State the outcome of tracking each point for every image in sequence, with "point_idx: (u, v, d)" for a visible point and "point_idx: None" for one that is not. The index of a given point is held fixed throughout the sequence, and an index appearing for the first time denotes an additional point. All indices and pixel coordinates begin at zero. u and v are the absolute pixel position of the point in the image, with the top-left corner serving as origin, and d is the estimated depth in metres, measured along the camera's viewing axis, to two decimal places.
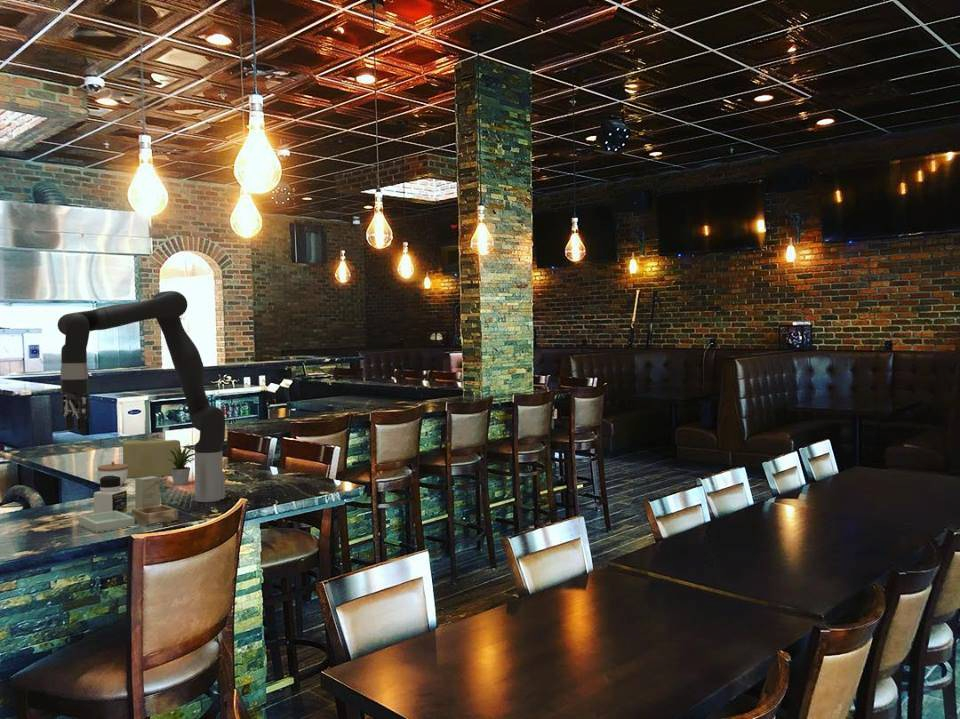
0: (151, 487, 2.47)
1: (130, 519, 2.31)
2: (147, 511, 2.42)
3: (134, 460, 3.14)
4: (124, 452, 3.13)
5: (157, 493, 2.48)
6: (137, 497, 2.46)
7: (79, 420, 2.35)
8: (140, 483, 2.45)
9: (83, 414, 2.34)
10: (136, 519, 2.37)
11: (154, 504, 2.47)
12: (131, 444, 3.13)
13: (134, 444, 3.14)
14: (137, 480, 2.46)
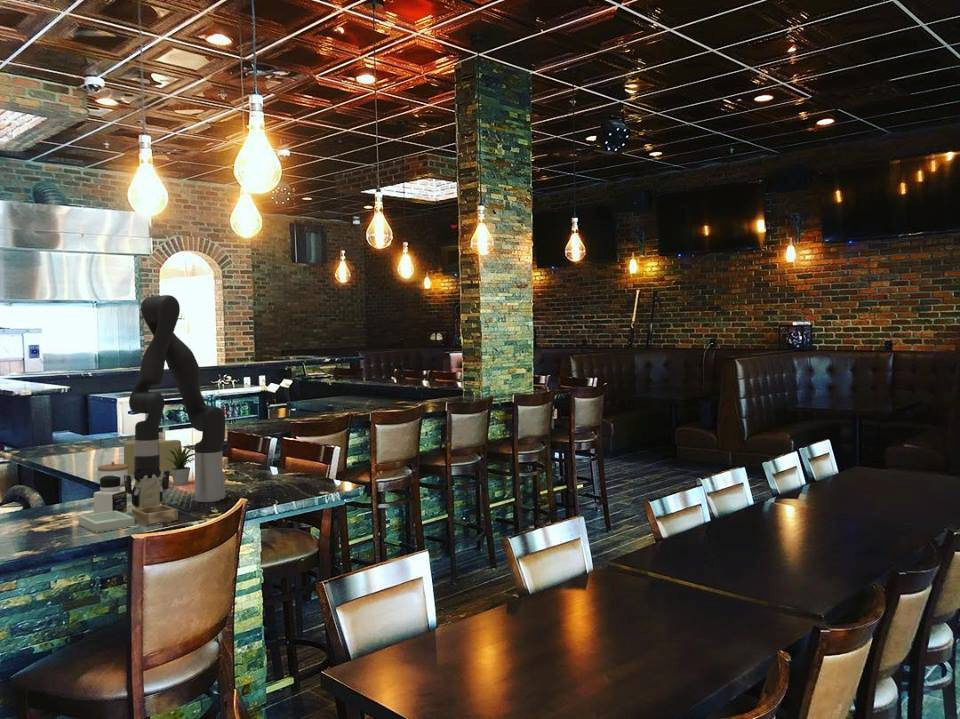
0: (151, 487, 2.47)
1: (130, 519, 2.31)
2: (147, 511, 2.42)
3: None
4: (125, 452, 3.13)
5: (157, 493, 2.48)
6: None
7: (161, 493, 2.50)
8: None
9: None
10: (136, 519, 2.37)
11: (154, 504, 2.47)
12: (132, 444, 3.13)
13: None
14: None
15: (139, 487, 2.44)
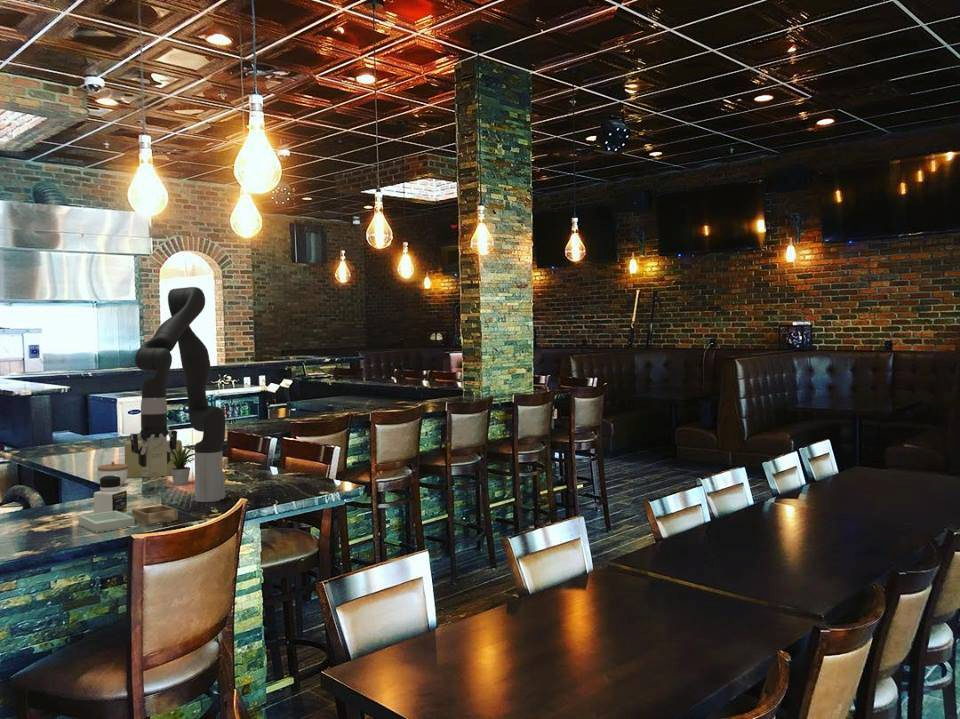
0: (158, 447, 2.38)
1: (130, 519, 2.31)
2: (147, 511, 2.42)
3: (136, 460, 3.14)
4: (126, 452, 3.13)
5: (164, 453, 2.40)
6: None
7: (169, 453, 2.42)
8: None
9: None
10: (136, 519, 2.37)
11: (161, 464, 2.39)
12: None
13: None
14: None
15: (146, 446, 2.36)
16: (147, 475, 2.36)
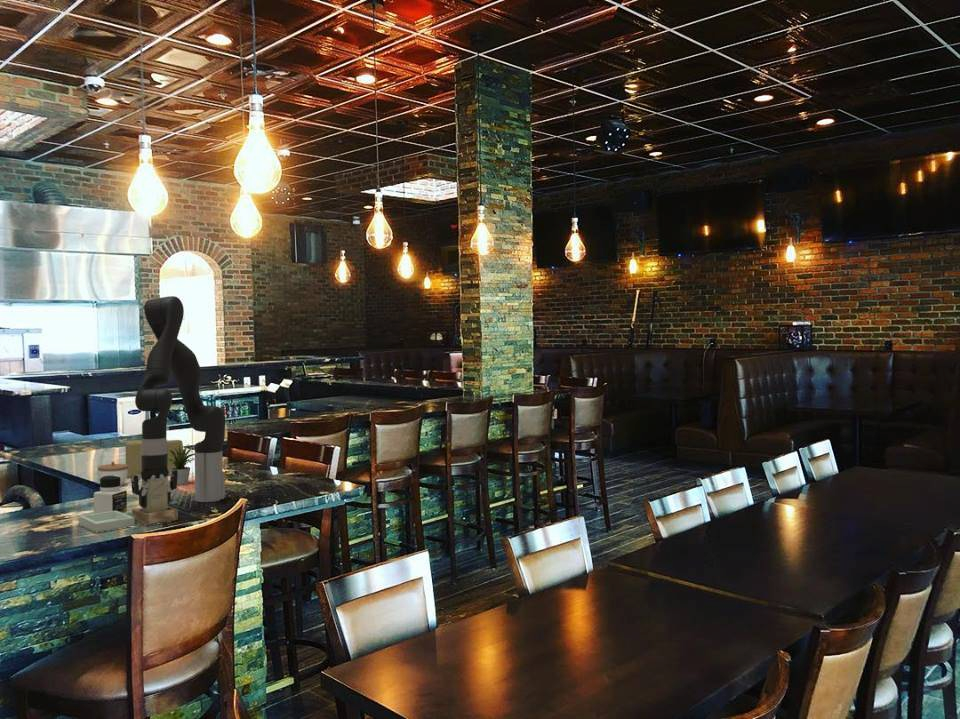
0: (159, 488, 2.38)
1: (130, 519, 2.31)
2: None
3: (136, 460, 3.14)
4: (127, 452, 3.13)
5: (165, 493, 2.40)
6: None
7: (169, 493, 2.42)
8: None
9: None
10: (136, 519, 2.37)
11: (162, 505, 2.39)
12: (134, 444, 3.13)
13: (137, 444, 3.14)
14: (144, 480, 2.37)
15: (146, 487, 2.36)
16: None
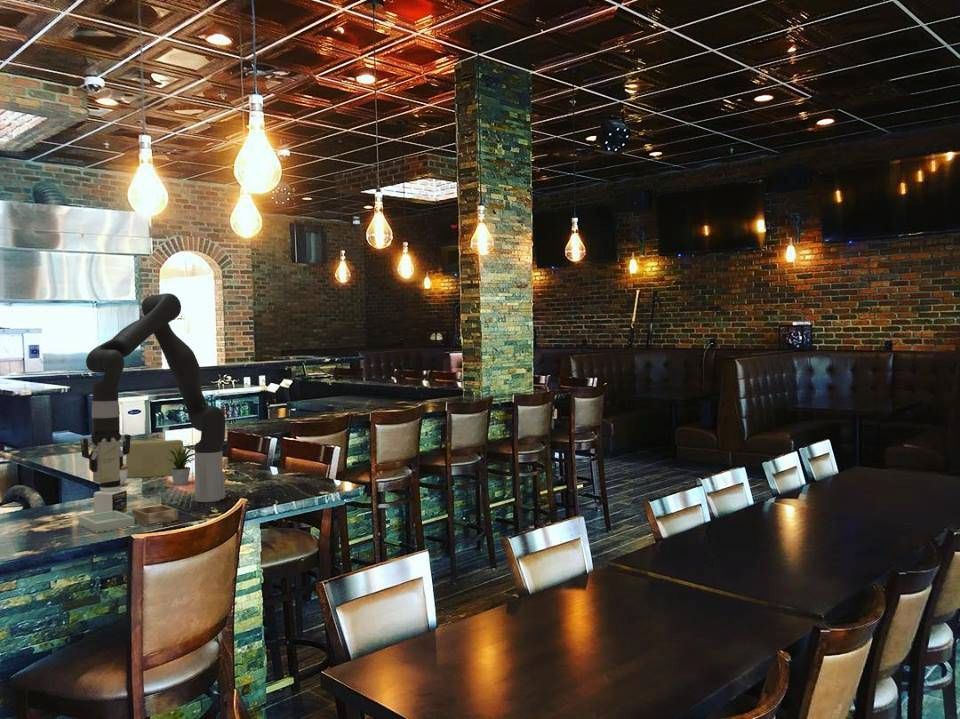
0: (110, 452, 2.31)
1: (130, 519, 2.31)
2: (147, 511, 2.42)
3: (137, 460, 3.14)
4: None
5: (117, 458, 2.33)
6: None
7: (121, 458, 2.35)
8: None
9: None
10: (136, 519, 2.37)
11: (113, 469, 2.32)
12: (134, 444, 3.14)
13: (137, 444, 3.14)
14: None
15: (97, 451, 2.29)
16: (98, 480, 2.29)
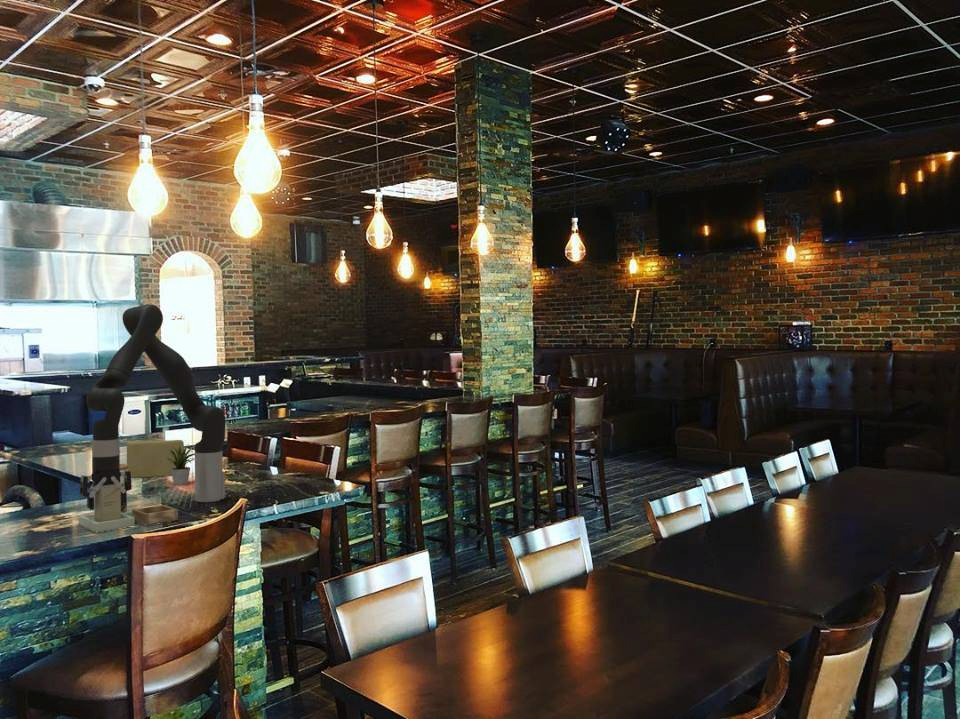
0: (111, 495, 2.32)
1: (130, 519, 2.31)
2: (147, 511, 2.42)
3: (138, 460, 3.14)
4: (128, 452, 3.13)
5: (118, 501, 2.34)
6: (96, 505, 2.31)
7: (124, 494, 2.36)
8: (99, 490, 2.30)
9: None
10: (136, 519, 2.37)
11: (114, 512, 2.33)
12: (135, 444, 3.14)
13: (138, 444, 3.14)
14: None
15: (96, 489, 2.29)
16: None
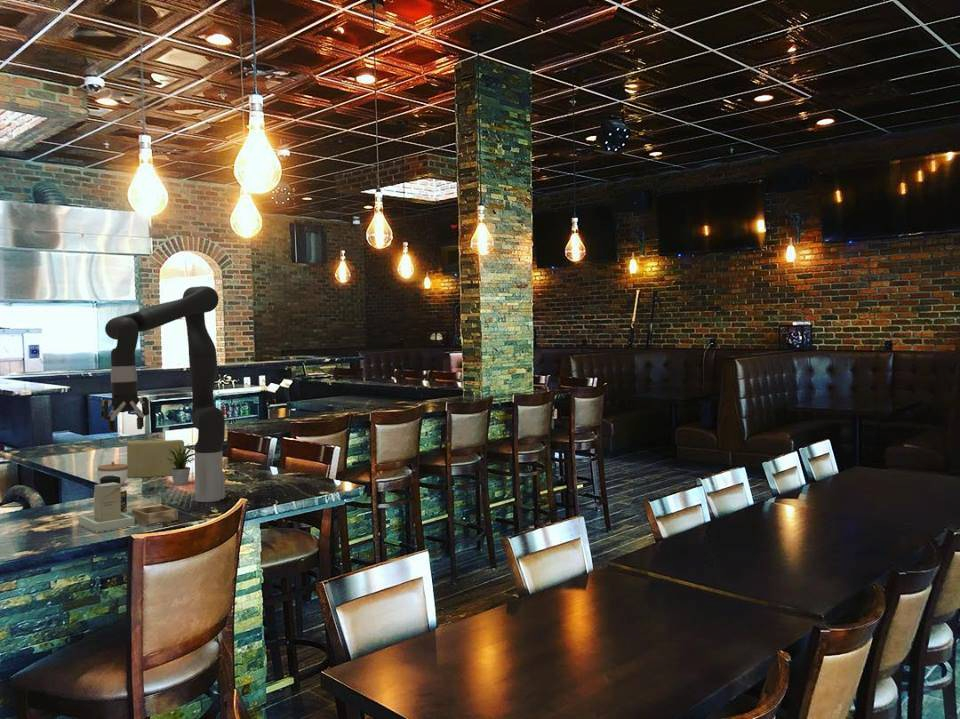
0: (111, 495, 2.32)
1: (130, 519, 2.31)
2: (147, 511, 2.42)
3: (138, 460, 3.14)
4: (128, 452, 3.13)
5: (118, 501, 2.34)
6: (96, 505, 2.31)
7: (142, 418, 2.48)
8: (99, 490, 2.30)
9: None
10: (136, 519, 2.37)
11: (114, 512, 2.33)
12: (135, 444, 3.14)
13: (138, 444, 3.14)
14: (96, 487, 2.31)
15: (116, 413, 2.41)
16: None
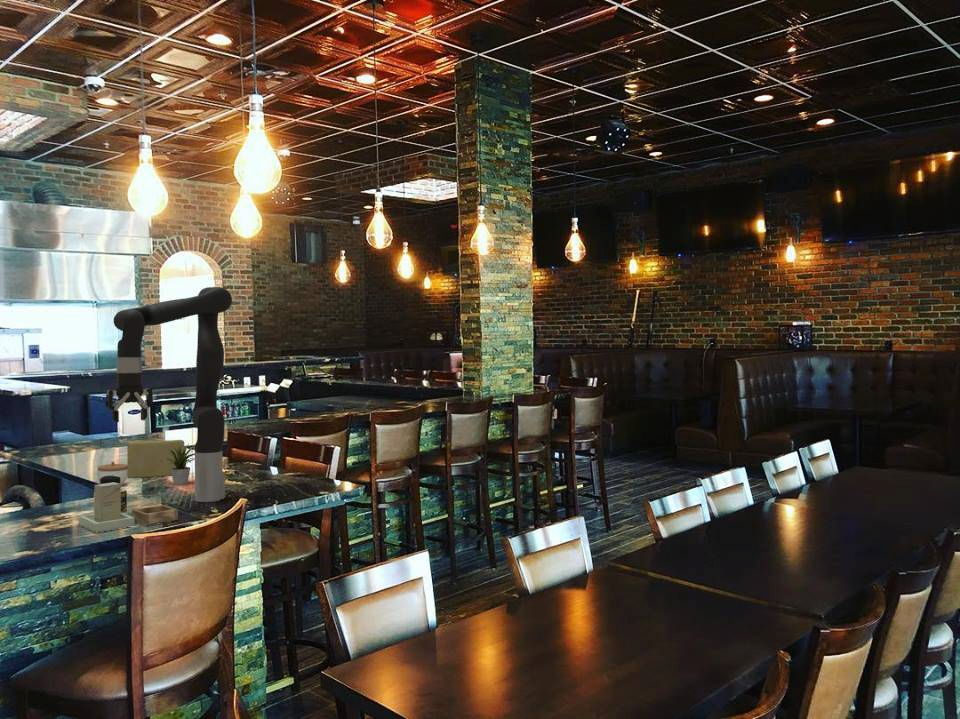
0: (111, 495, 2.32)
1: (130, 519, 2.31)
2: (147, 511, 2.42)
3: (138, 460, 3.14)
4: (128, 452, 3.13)
5: (118, 501, 2.34)
6: (96, 505, 2.31)
7: (146, 410, 2.52)
8: (99, 490, 2.30)
9: None
10: (136, 519, 2.37)
11: (114, 512, 2.33)
12: (135, 444, 3.14)
13: (138, 444, 3.14)
14: (96, 487, 2.31)
15: (120, 403, 2.45)
16: None
